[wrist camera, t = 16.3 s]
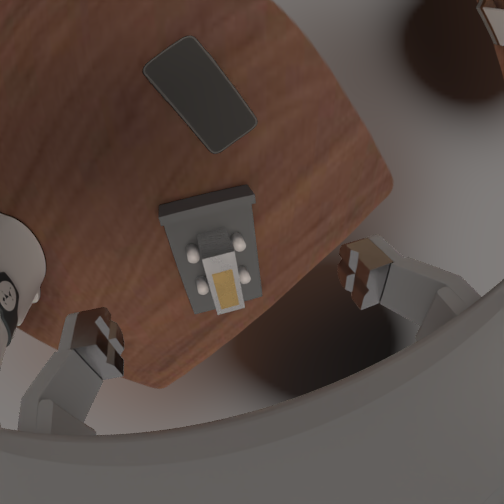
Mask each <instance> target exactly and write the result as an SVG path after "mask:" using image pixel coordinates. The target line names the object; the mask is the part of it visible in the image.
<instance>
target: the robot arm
mask: <svg viewBox="0 0 504 504" xmlns="http://www.w3.org/2000/svg"><path fill="white" fill-rule="evenodd" d="M339 255H340V256H341V258H342V260H341V261H340V263H339V264H338V276H339V280H340V282H341V284H342V286H343V287H344V288H345V289H346V290H348V291H351V292H352V295H351V298H352V299H353V300H354V302H355V303H356V304H357V305H358V307H359V308H360V310H362V309H365V308H367V307H370V306H373V305H375V304H378V303H380V304H381V305H383V306H385V307H387V308H389V309H390V310H392V311H394V312H396V313H398V314H399V315H401V316H403V317H405V318H407V319H408V320H410V321H412V322H414V323H416V324H417V325H419V326H420V328H419V330H418V332H417V334H416V337H415V339H416V341H417V342H415V343H414V344H412V345H410V346H408V347H406V348H405V349H403V350H401V351H399V352H397V353H396V354H394V355H392V356H390V357H388V358H386V359H384V360H383V361H380V362H378V363H376V364H374V365H372V366H370V367H368V368H367V369H364V370H362V371H360V372H358V373H356V374H353V375H351V376H349V377H347V378H345V379H343V380H340V381H338V382H335V383H333V384H330V385H328V386H326V387H323V388H321V389H318V390H315V391H313V392H310V393H307V394H305V395H302V396H299V397H296V398H294V399H291V400H288V401H285V402H282V403H279V404H276V405H272V406H269V407H266V408H263V409H259V410H256V411H252V412H248V413H245V414H241V415H237V416H233V417H229V418H225V419H221V420H216V421H212V422H207V423H202V424H197V425H191V426H186V427H180V428H174V429H167V430H159V431H151V432H142V433H131V434H116V435H96V431H95V430H94V429H92V428H91V427H89V426H87V425H86V424H84V421H85V418H86V416H87V414H88V412H89V410H90V408H91V405H92V403H93V401H94V399H95V397H96V395H97V393H98V391H99V389H100V387H101V385H102V383H103V380H105V379H111V378H117V377H122V376H124V360H123V358H122V357H121V356H120V355H121V353H122V352H123V350H124V339H123V334H122V332H121V329H120V327H119V326H118V324H117V323H115V322H113V321H111V314H110V312H109V311H108V309H107V308H105V307H101V308H96V309H91V310H86V311H81V312H78V313H73V314H69V315H68V316H67V317H66V320H65V323H64V327H63V331H62V335H61V340H60V344H59V349H58V352H54V354H53V355H52V356H51V358H50V359H49V360H48V362H47V363H46V364H45V366H44V367H43V368H42V370H41V371H40V373H39V374H38V375H37V377H36V378H35V380H34V381H33V382H32V384H31V385H30V387H29V388H28V390H27V391H26V393H25V394H24V396H23V397H22V399H21V407H20V413H19V421H18V431H17V430H10V429H4V428H1V425H0V504H504V279H503V280H502V281H501V282H500V283H498V284H497V285H496V286H495V287H494V288H492V289H491V290H490V291H489V292H488V293H486V294H485V295H484V296H483V297H481V296H480V295H479V294H478V293H477V292H476V291H475V290H474V289H473V288H472V287H471V286H470V285H469V284H468V283H467V282H466V281H465V280H464V279H463V278H462V277H461V276H459V275H456V274H453V273H451V272H448V271H445V270H443V269H440V268H437V267H434V266H432V265H429V264H426V263H423V262H420V261H418V260H415V259H412V258H409V257H407V258H404V257H403V256H402V255H401V254H400V253H399V252H398V251H397V250H396V249H394V248H393V247H392V246H391V245H390V244H389V243H388V242H387V241H386V240H384V239H383V238H382V237H381V236H380V235H377V234H375V235H372V236H369V237H366V238H364V239H361V240H357V241H353V242H350V243H347V244H344V245H342V246H341V248H340V252H339ZM45 272H46V263H45V258H44V254H43V251H42V249H41V246H40V244H39V242H38V241H37V239H36V238H35V236H34V235H33V234H32V232H31V231H30V230H29V229H28V228H27V227H26V226H25V225H24V224H22V223H21V222H20V221H18V220H16V219H14V218H12V217H9V216H6V215H3V214H1V213H0V369H1V364H2V360H3V356H4V352H5V349H6V347H7V346H8V345H9V344H10V342H11V340H12V338H13V336H14V334H15V329H16V326H20V325H21V324H22V322H23V320H24V318H25V316H26V314H27V312H28V310H29V308H30V306H31V304H32V303H36V302H38V300H39V298H40V285H41V283H42V281H43V279H44V276H45Z"/></svg>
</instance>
